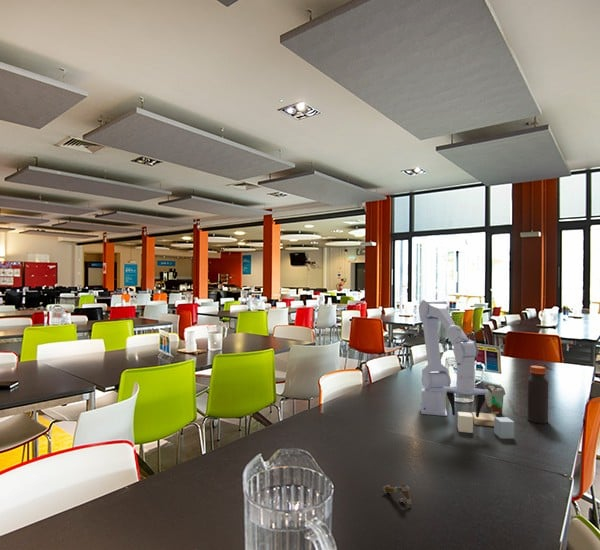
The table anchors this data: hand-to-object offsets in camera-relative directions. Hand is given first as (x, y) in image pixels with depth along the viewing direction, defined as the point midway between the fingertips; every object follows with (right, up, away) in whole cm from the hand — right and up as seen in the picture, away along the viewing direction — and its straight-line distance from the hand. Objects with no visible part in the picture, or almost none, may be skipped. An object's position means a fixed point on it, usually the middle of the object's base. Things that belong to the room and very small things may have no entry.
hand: (465, 415), depth 145 cm
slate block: (+11, -5, -5) cm, 13 cm away
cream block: (0, -5, 0) cm, 5 cm away
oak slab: (+11, -6, +8) cm, 15 cm away
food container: (+20, -6, +19) cm, 28 cm away
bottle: (+31, -6, +10) cm, 33 cm away
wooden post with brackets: (-34, -5, -46) cm, 58 cm away
